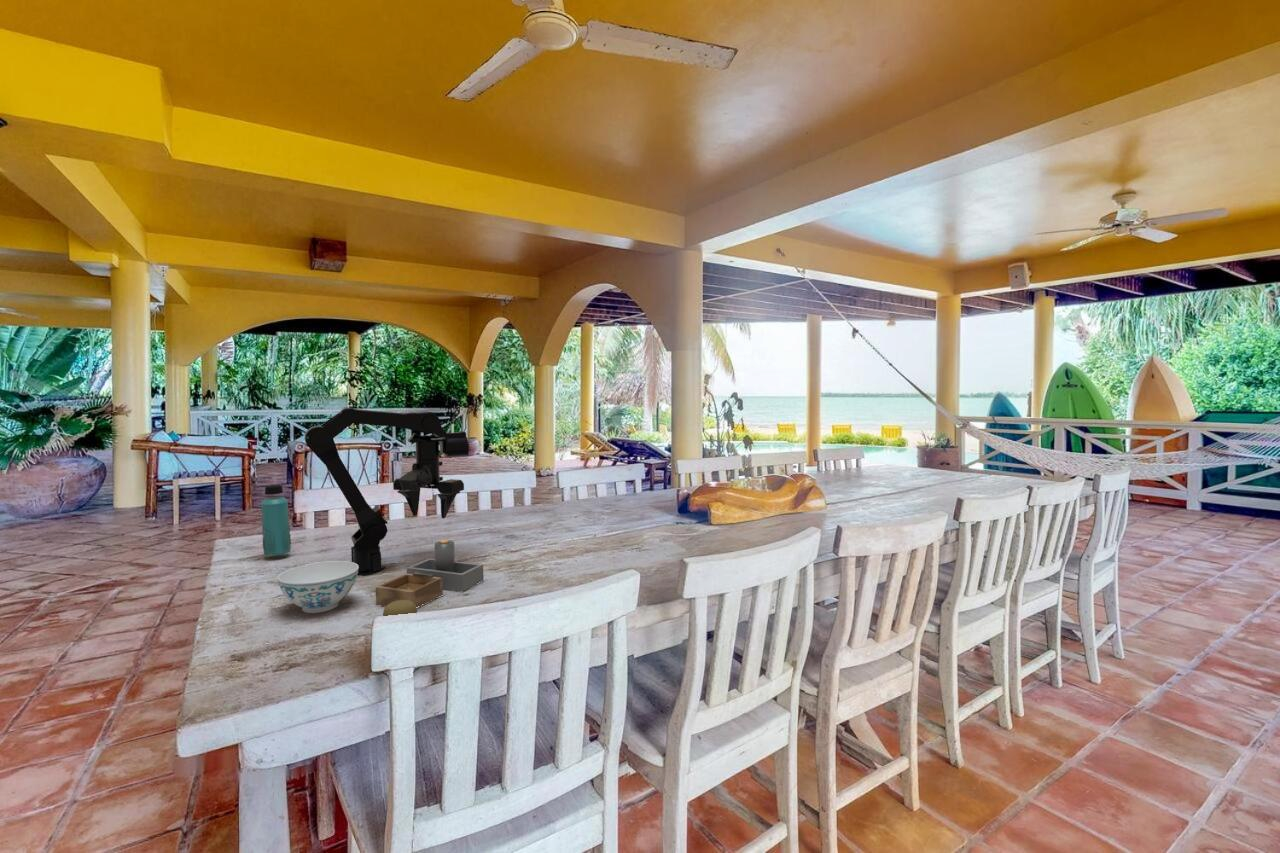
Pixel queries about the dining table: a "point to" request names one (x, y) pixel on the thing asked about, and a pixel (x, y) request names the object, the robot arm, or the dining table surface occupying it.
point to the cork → (400, 610)
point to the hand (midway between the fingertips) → (429, 516)
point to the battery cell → (445, 556)
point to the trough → (452, 574)
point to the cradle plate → (409, 586)
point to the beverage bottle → (275, 523)
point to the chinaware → (318, 584)
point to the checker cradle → (419, 595)
